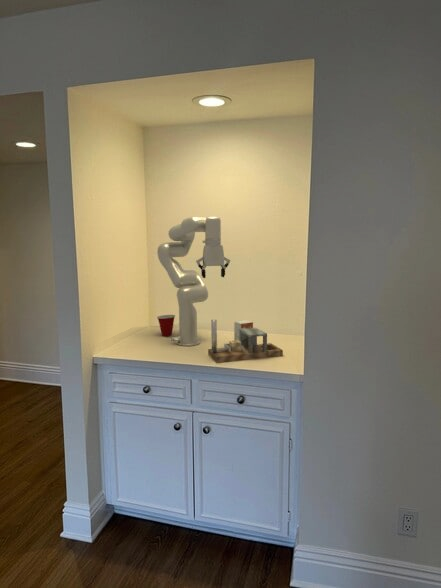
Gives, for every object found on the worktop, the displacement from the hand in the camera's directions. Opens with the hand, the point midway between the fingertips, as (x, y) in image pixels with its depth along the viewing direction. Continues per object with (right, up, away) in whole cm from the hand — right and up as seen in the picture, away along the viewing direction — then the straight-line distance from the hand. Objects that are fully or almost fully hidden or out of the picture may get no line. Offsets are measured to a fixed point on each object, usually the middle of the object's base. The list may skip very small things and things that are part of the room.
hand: (213, 277), depth 211 cm
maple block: (+11, -36, -2) cm, 37 cm away
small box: (+16, -36, +19) cm, 44 cm away
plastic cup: (-28, -33, +42) cm, 61 cm away
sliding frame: (+6, -36, -3) cm, 37 cm away
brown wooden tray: (+16, -39, 0) cm, 42 cm away
